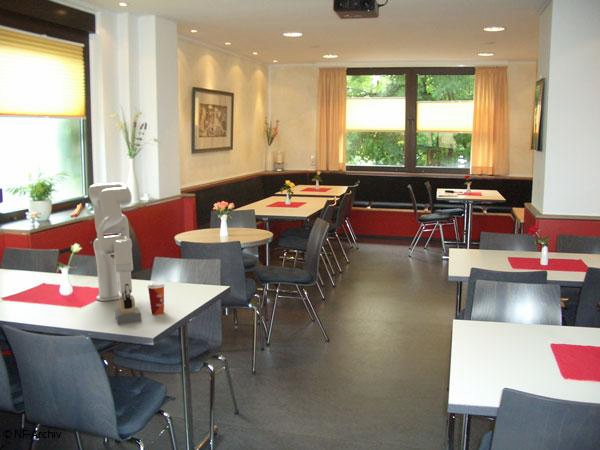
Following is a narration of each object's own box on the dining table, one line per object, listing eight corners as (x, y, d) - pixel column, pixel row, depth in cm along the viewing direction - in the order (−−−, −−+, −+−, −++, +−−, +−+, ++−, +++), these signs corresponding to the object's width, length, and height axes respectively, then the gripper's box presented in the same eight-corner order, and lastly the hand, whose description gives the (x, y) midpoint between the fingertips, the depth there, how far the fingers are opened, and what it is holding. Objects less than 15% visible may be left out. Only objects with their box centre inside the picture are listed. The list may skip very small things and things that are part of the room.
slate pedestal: (115, 318, 286) (114, 309, 285) (137, 315, 290) (137, 306, 289) (118, 324, 277) (117, 315, 276) (141, 321, 281) (140, 312, 280)
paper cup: (162, 315, 288) (160, 285, 286) (146, 315, 289) (144, 285, 287) (169, 310, 295) (167, 281, 293) (153, 310, 297) (151, 281, 295)
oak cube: (119, 309, 284) (118, 297, 283) (133, 308, 287) (132, 295, 286) (121, 313, 279) (120, 300, 278) (135, 311, 281) (134, 298, 280)
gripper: (112, 264, 286) (115, 302, 289) (117, 271, 270) (121, 312, 273) (129, 262, 289) (132, 300, 292) (135, 269, 273) (138, 310, 276)
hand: (127, 305), depth 283 cm, fingers open, 6 cm apart
